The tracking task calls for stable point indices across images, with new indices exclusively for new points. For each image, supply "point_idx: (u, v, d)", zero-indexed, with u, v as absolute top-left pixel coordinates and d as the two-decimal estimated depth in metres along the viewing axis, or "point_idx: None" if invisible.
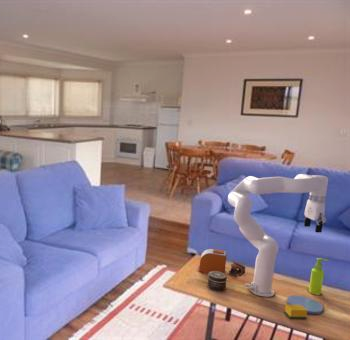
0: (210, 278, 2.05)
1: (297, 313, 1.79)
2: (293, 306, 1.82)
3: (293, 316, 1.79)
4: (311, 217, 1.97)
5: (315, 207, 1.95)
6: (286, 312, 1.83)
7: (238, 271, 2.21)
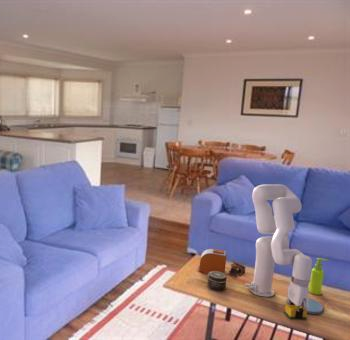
0: (210, 278, 2.05)
1: None
2: (293, 306, 1.82)
3: (293, 316, 1.79)
4: (294, 301, 1.79)
5: (298, 291, 1.76)
6: (286, 312, 1.83)
7: (238, 271, 2.21)
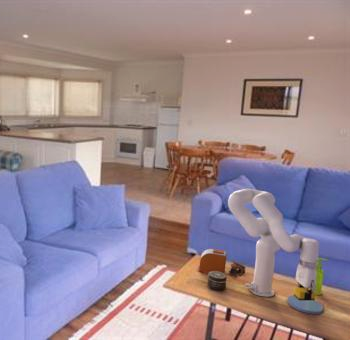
0: (210, 278, 2.05)
1: None
2: (302, 288, 1.89)
3: (302, 298, 1.86)
4: (302, 283, 1.86)
5: (306, 274, 1.83)
6: (295, 294, 1.90)
7: (238, 271, 2.21)
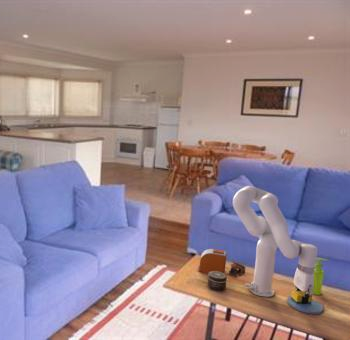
0: (210, 278, 2.05)
1: None
2: (299, 292, 1.94)
3: (299, 301, 1.92)
4: (300, 287, 1.91)
5: (304, 278, 1.88)
6: (292, 298, 1.95)
7: (238, 271, 2.21)
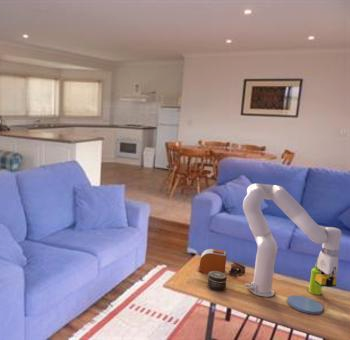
0: (210, 278, 2.05)
1: None
2: (323, 275, 1.95)
3: (324, 284, 1.92)
4: (324, 270, 1.92)
5: (328, 261, 1.89)
6: (317, 281, 1.96)
7: (238, 271, 2.21)
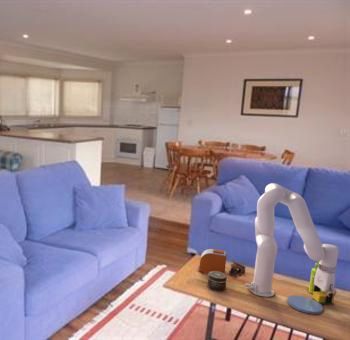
0: (210, 278, 2.05)
1: None
2: (321, 293, 1.97)
3: (321, 302, 1.94)
4: (321, 287, 1.94)
5: (325, 278, 1.91)
6: (314, 298, 1.97)
7: (238, 271, 2.21)
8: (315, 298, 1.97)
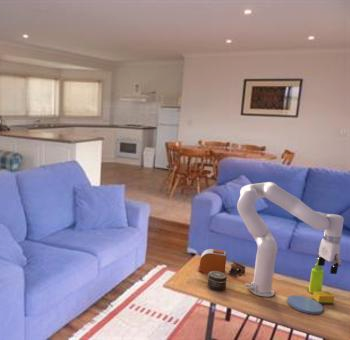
0: (210, 278, 2.05)
1: (325, 299, 1.94)
2: (321, 293, 1.97)
3: (321, 302, 1.94)
4: (326, 258, 1.91)
5: (330, 248, 1.88)
6: (314, 298, 1.97)
7: (238, 271, 2.21)
8: (315, 298, 1.97)
